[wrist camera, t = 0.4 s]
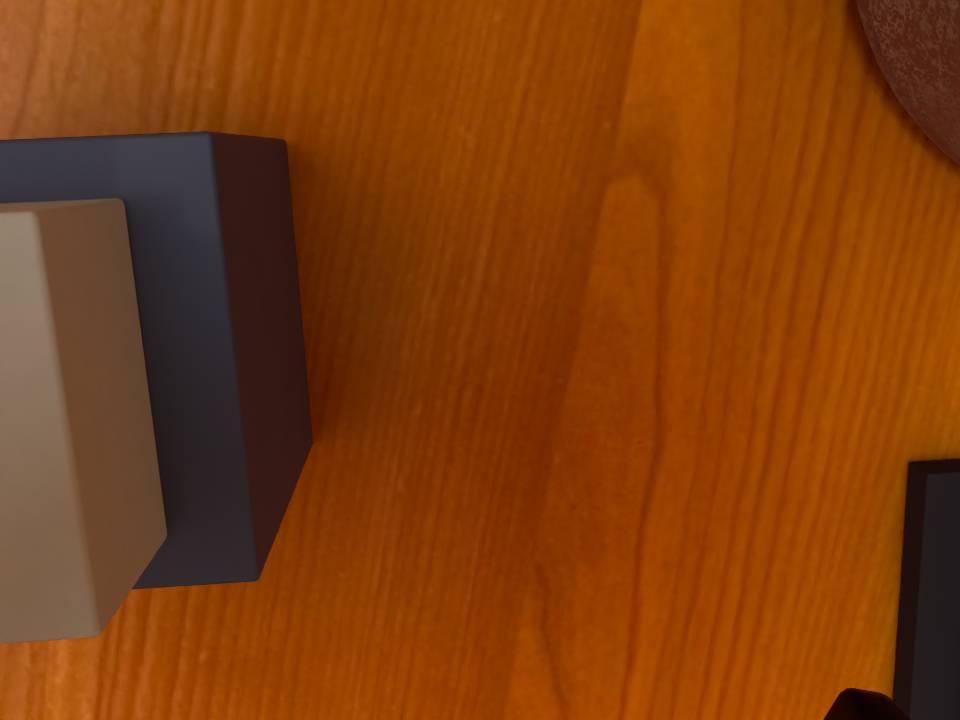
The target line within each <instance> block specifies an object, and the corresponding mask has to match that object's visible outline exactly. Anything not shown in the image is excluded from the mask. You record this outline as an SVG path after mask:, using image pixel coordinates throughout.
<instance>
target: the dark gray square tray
mask: <svg viewBox="0 0 960 720" xmlns="http://www.w3.org/2000/svg"><path fill="white" fill-rule="evenodd" d="M893 702H894V703H895V704H896V705H897V706H898V707H899V708H900V709H901V710H902V711H903V712H904V713H905V714H906V715H907V716H908V717H909V718H910V719H911V720H960V459H954V460H937V461H921V462H910V463H909V473H908V488H907V503H906V518H905V532H904V547H903V562H902V577H901V591H900V606H899V621H898V636H897V650H896V665H895V680H894V695H893Z"/></svg>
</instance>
